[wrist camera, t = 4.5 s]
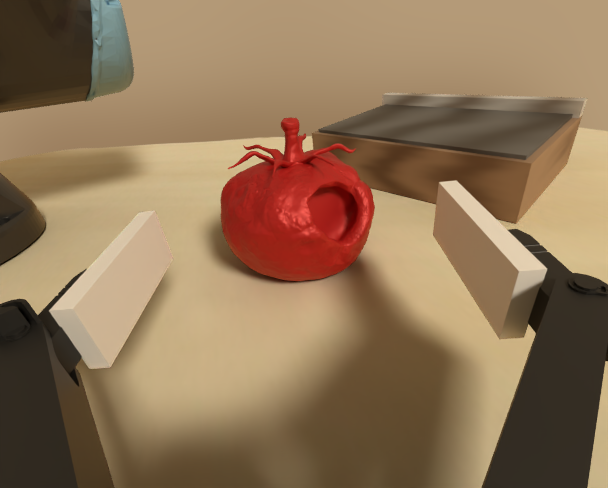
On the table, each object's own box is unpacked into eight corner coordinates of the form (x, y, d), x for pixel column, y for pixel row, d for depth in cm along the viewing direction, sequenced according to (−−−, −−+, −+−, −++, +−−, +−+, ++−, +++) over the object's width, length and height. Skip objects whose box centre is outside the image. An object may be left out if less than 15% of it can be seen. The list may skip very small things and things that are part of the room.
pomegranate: (208, 293, 21) (159, 150, 17) (264, 219, 30) (243, 107, 25) (364, 311, 19) (361, 144, 14) (380, 223, 27) (381, 97, 22)
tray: (315, 174, 37) (310, 119, 34) (386, 140, 45) (388, 92, 42) (516, 223, 24) (537, 142, 21) (566, 163, 32) (587, 98, 29)
